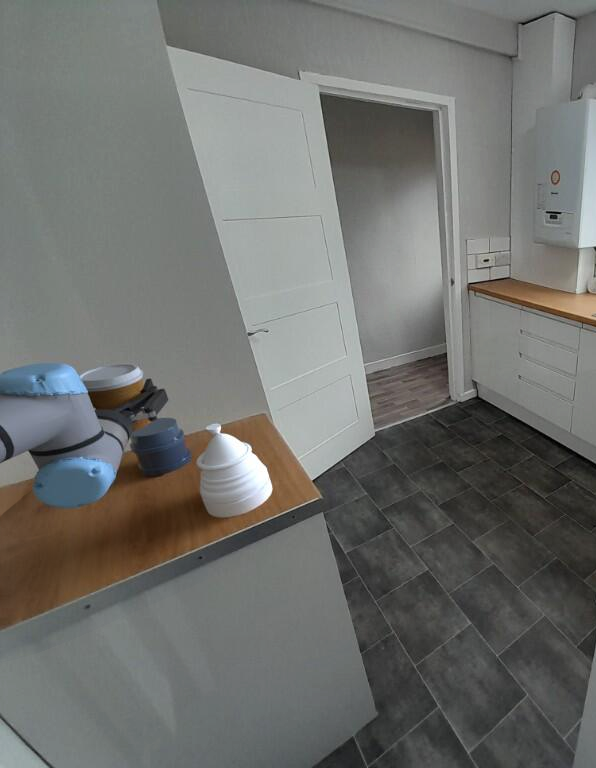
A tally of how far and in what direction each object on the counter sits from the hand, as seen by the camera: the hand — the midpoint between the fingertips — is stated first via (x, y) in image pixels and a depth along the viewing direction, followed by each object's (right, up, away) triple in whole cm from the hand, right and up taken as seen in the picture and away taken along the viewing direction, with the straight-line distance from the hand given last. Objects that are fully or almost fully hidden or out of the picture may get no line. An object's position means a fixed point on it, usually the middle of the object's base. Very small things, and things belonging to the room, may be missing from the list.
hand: (123, 389), depth 84 cm
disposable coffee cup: (+3, -8, -1) cm, 8 cm away
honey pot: (+19, -25, +8) cm, 32 cm away
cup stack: (-8, -19, +20) cm, 29 cm away
